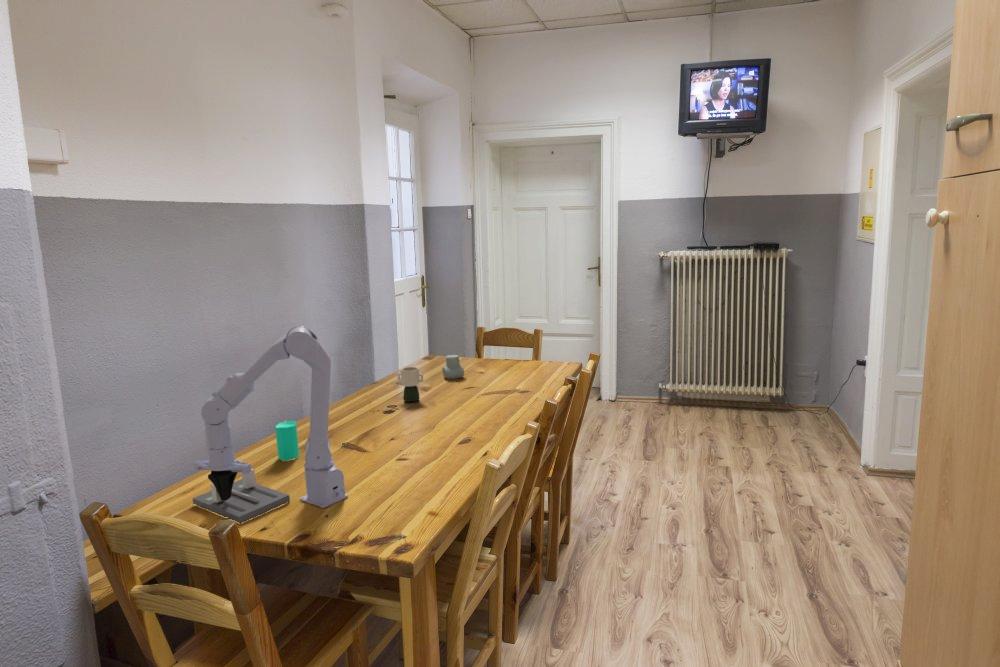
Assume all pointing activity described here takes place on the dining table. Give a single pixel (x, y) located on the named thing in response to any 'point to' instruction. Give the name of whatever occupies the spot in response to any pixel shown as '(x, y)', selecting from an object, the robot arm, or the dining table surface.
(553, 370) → the dining table surface
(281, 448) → the candle
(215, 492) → the block
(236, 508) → the slider control panel
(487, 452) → the dining table surface
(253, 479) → the breaker
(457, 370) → the air freshener
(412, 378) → the character mug
